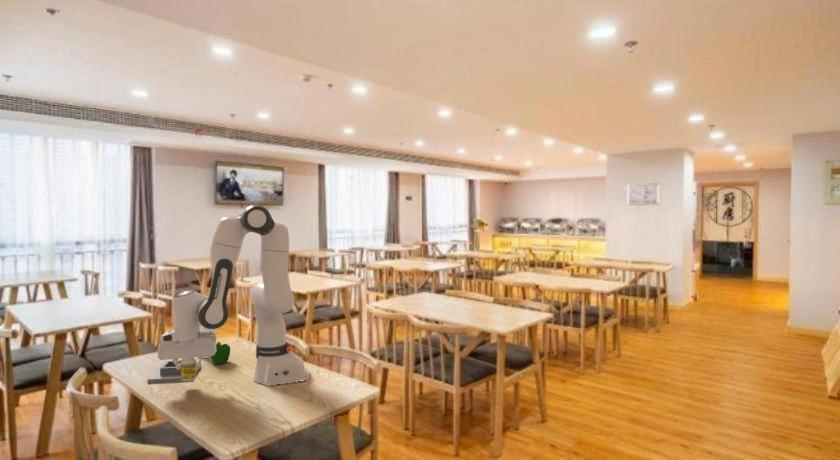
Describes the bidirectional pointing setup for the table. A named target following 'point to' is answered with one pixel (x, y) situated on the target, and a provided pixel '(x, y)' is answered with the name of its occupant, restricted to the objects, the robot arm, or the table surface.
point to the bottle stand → (167, 373)
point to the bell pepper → (221, 354)
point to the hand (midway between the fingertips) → (188, 368)
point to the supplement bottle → (188, 368)
